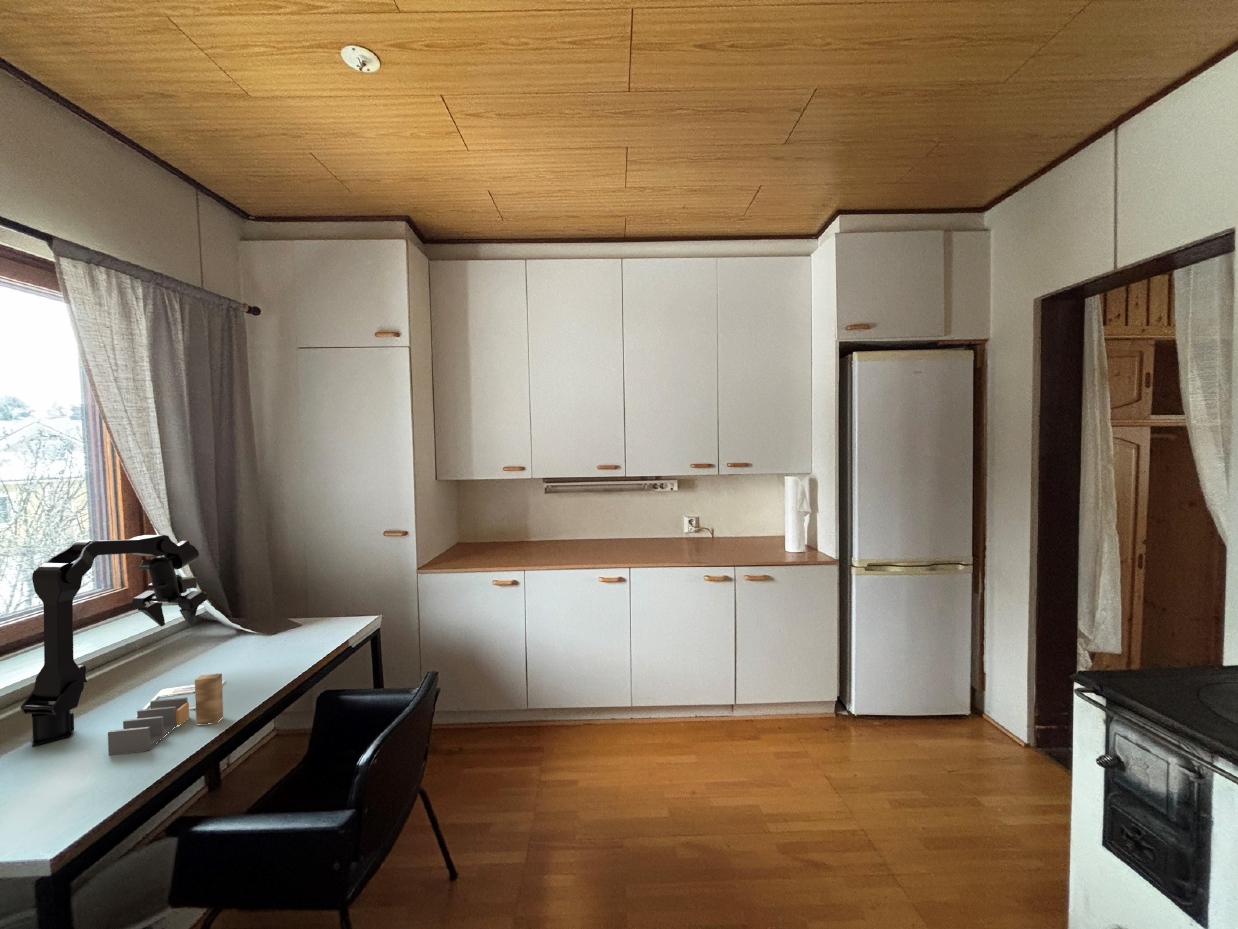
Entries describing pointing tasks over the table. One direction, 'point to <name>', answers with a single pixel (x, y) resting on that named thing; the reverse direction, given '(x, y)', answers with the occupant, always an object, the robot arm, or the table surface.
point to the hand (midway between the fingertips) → (177, 626)
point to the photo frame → (175, 693)
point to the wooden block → (208, 698)
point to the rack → (148, 726)
